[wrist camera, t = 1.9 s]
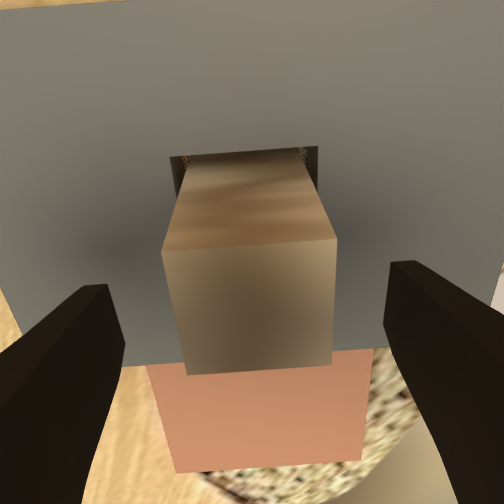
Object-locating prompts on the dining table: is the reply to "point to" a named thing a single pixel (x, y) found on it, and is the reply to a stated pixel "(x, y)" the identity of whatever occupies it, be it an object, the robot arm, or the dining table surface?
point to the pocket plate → (248, 143)
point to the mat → (264, 414)
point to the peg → (251, 264)
